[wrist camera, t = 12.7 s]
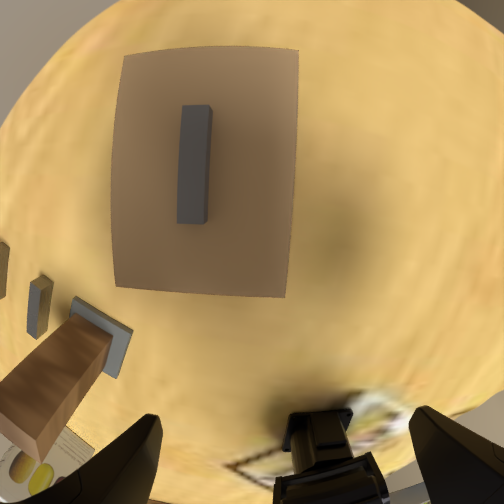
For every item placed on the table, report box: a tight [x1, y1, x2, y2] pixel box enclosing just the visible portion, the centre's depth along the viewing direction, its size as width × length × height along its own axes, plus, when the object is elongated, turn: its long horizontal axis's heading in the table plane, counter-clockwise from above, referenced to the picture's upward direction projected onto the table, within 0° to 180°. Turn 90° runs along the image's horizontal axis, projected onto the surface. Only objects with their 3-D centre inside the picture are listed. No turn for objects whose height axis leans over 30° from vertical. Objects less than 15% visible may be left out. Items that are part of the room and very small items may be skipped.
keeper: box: [0, 242, 54, 340], centre depth 19 cm, size 8×6×2 cm
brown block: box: [0, 313, 113, 464], centre depth 15 cm, size 4×4×12 cm
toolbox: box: [111, 46, 299, 298], centre depth 14 cm, size 11×8×9 cm
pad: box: [69, 296, 133, 379], centre depth 21 cm, size 6×6×1 cm
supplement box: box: [0, 426, 95, 503], centre depth 18 cm, size 10×9×17 cm
